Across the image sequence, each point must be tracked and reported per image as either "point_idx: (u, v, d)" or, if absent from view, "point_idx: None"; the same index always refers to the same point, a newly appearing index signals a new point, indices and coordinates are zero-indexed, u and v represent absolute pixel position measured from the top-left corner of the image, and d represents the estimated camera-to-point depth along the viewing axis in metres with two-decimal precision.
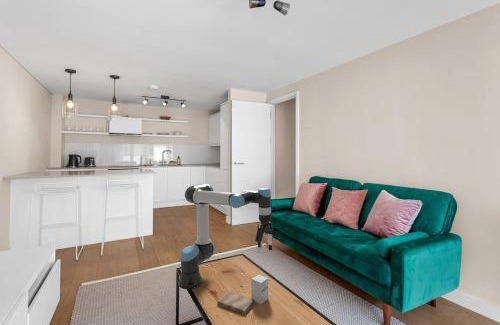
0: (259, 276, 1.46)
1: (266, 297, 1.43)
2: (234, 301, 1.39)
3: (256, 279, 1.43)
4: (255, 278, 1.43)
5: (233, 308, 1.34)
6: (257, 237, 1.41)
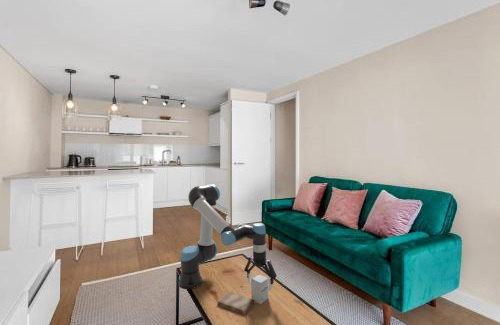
0: (259, 276, 1.46)
1: (266, 297, 1.43)
2: (234, 301, 1.39)
3: (256, 279, 1.43)
4: (255, 278, 1.43)
5: (233, 308, 1.34)
6: None
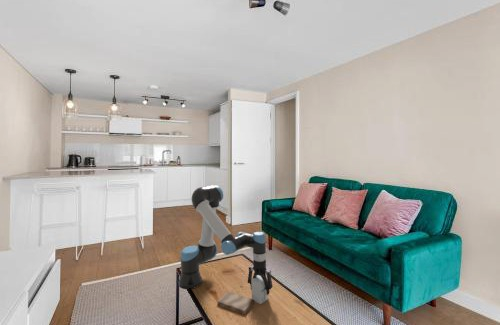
0: (259, 276, 1.46)
1: None
2: (234, 301, 1.39)
3: (256, 278, 1.43)
4: (255, 278, 1.43)
5: (233, 308, 1.34)
6: None
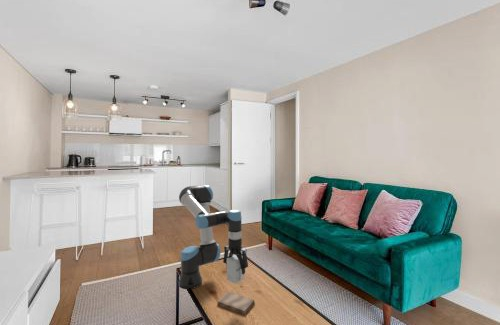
0: (235, 256, 1.41)
1: None
2: (234, 301, 1.39)
3: (231, 258, 1.38)
4: (230, 257, 1.39)
5: (233, 308, 1.34)
6: None
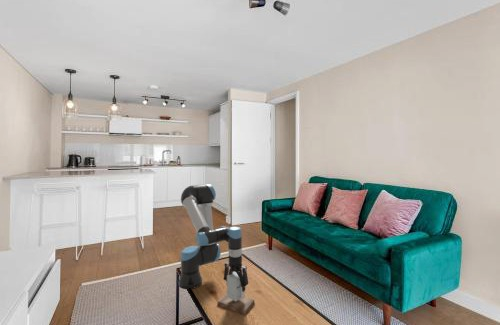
0: (235, 272, 1.41)
1: None
2: (234, 301, 1.39)
3: (232, 275, 1.38)
4: (231, 274, 1.39)
5: (233, 308, 1.34)
6: None
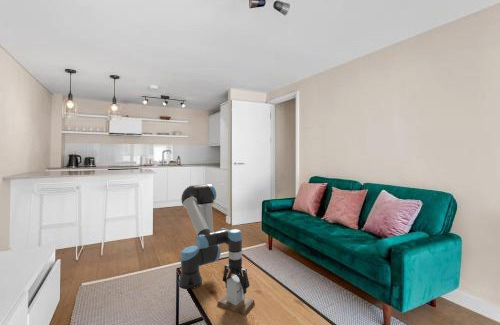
0: (235, 276, 1.42)
1: None
2: None
3: (232, 279, 1.39)
4: (231, 278, 1.39)
5: (233, 308, 1.34)
6: None
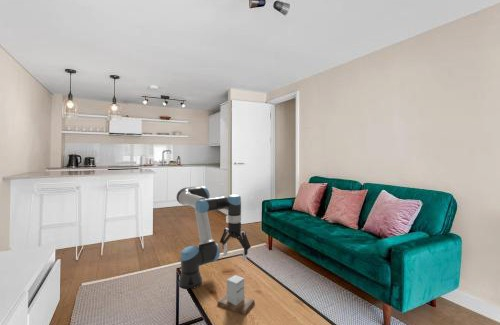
0: (235, 276, 1.41)
1: (242, 298, 1.39)
2: None
3: (232, 279, 1.38)
4: (231, 279, 1.39)
5: (233, 308, 1.34)
6: None
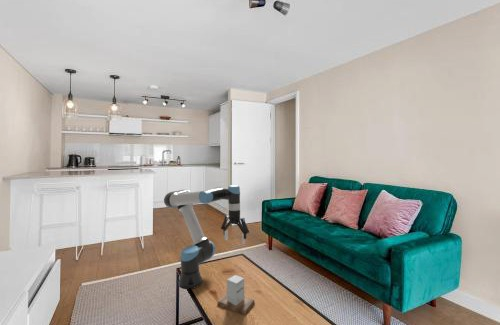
0: (235, 276, 1.41)
1: (242, 298, 1.39)
2: None
3: (232, 279, 1.38)
4: (231, 279, 1.39)
5: (233, 308, 1.34)
6: None
